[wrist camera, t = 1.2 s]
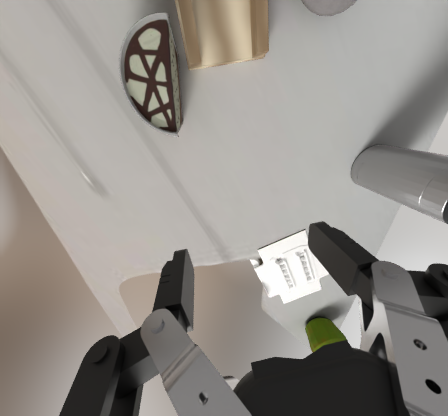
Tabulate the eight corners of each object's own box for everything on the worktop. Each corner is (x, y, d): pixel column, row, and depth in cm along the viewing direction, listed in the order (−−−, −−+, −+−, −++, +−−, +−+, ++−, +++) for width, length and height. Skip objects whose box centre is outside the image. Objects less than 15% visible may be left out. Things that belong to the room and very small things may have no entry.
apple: (335, 310, 67) (358, 344, 57) (326, 328, 72) (346, 362, 63) (304, 314, 65) (322, 349, 55) (297, 332, 71) (313, 367, 61)
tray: (315, 222, 46) (324, 230, 43) (328, 280, 60) (335, 289, 57) (245, 252, 48) (248, 263, 45) (273, 301, 62) (277, 312, 59)
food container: (134, 38, 25) (98, -3, 16) (177, 42, 26) (165, 5, 17) (148, 131, 31) (127, 137, 22) (183, 132, 32) (176, 138, 23)
